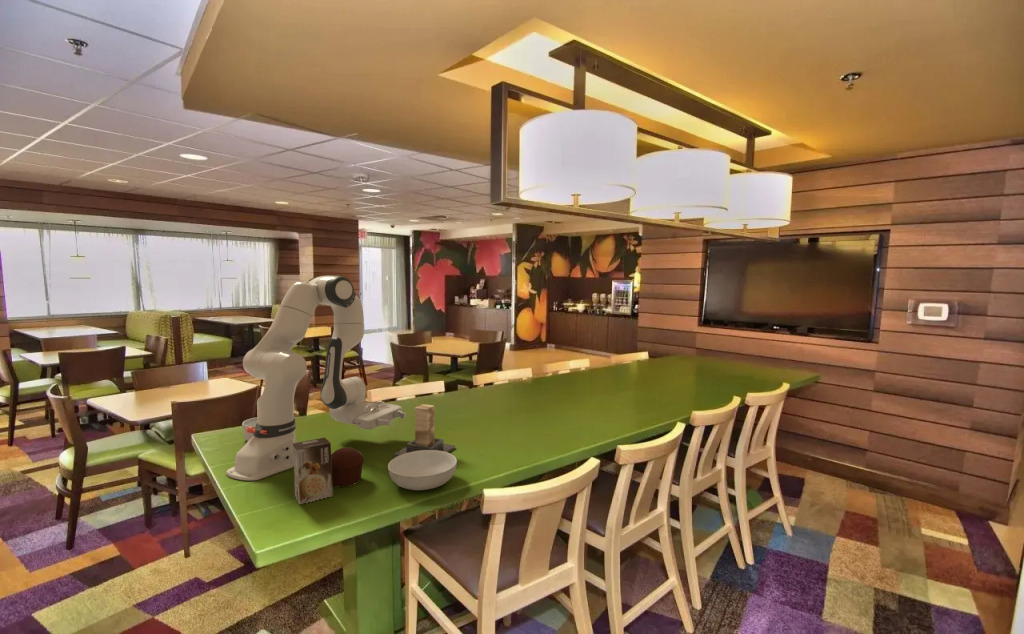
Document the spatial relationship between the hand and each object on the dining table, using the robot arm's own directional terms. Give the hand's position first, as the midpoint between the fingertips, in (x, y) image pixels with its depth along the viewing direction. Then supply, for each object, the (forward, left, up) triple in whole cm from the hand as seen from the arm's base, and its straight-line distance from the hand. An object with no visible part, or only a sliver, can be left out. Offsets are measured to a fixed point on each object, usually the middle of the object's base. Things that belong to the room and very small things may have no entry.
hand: (398, 419), depth 171 cm
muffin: (-30, -2, -11) cm, 32 cm away
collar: (0, -12, -11) cm, 16 cm away
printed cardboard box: (-42, -1, -11) cm, 43 cm away
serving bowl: (-22, -25, -11) cm, 35 cm away
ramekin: (-12, +55, -11) cm, 58 cm away
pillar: (0, -12, -10) cm, 15 cm away
